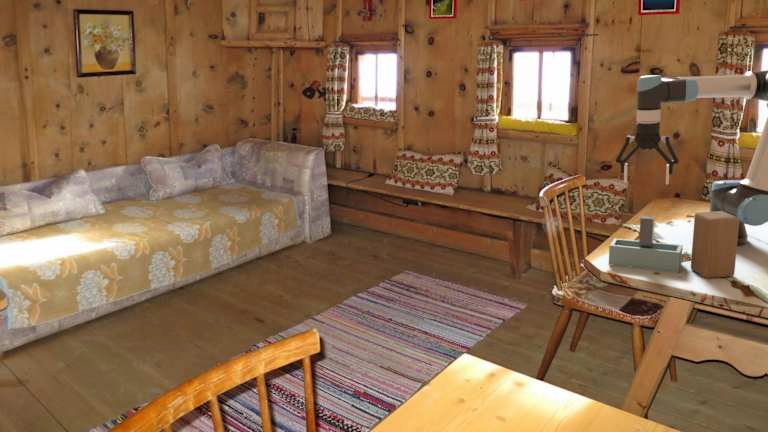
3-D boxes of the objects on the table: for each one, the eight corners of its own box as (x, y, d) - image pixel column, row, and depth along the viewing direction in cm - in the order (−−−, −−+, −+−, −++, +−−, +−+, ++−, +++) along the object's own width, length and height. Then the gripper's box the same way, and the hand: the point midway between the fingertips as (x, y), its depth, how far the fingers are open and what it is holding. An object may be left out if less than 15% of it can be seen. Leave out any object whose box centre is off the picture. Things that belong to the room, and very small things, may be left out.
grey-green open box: (681, 264, 227) (682, 244, 225) (678, 272, 219) (679, 252, 218) (613, 256, 238) (614, 238, 236) (608, 264, 230) (609, 245, 228)
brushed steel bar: (652, 260, 229) (654, 216, 225) (650, 264, 226) (653, 219, 222) (639, 259, 231) (642, 215, 227) (638, 262, 228) (640, 218, 223)
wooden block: (689, 269, 222) (693, 211, 217) (717, 267, 223) (722, 209, 218) (705, 279, 213) (710, 219, 207) (735, 277, 213) (741, 217, 208)
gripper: (689, 120, 222) (685, 181, 227) (611, 120, 233) (610, 179, 238) (688, 123, 215) (684, 186, 221) (608, 123, 226) (607, 184, 232)
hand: (646, 183), depth 230 cm, fingers open, 13 cm apart
